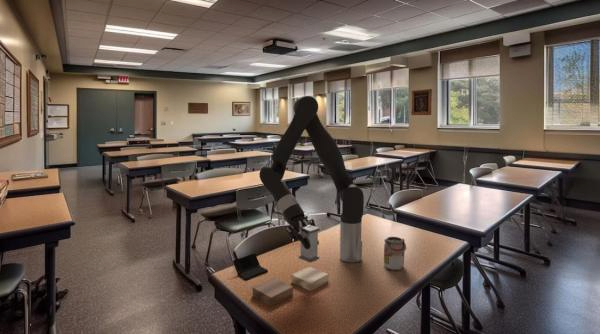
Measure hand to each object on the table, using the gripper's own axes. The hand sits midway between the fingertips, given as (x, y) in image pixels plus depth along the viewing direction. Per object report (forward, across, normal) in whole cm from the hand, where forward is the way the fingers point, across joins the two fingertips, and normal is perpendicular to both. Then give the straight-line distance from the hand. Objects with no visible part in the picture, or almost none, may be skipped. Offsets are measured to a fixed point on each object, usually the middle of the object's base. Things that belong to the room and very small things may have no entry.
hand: (313, 246), depth 124 cm
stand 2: (+9, 0, +11) cm, 15 cm away
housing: (+2, 0, +5) cm, 6 cm away
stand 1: (+7, -16, +13) cm, 22 cm away
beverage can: (+21, +34, -1) cm, 40 cm away
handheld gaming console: (-7, -10, +28) cm, 31 cm away
